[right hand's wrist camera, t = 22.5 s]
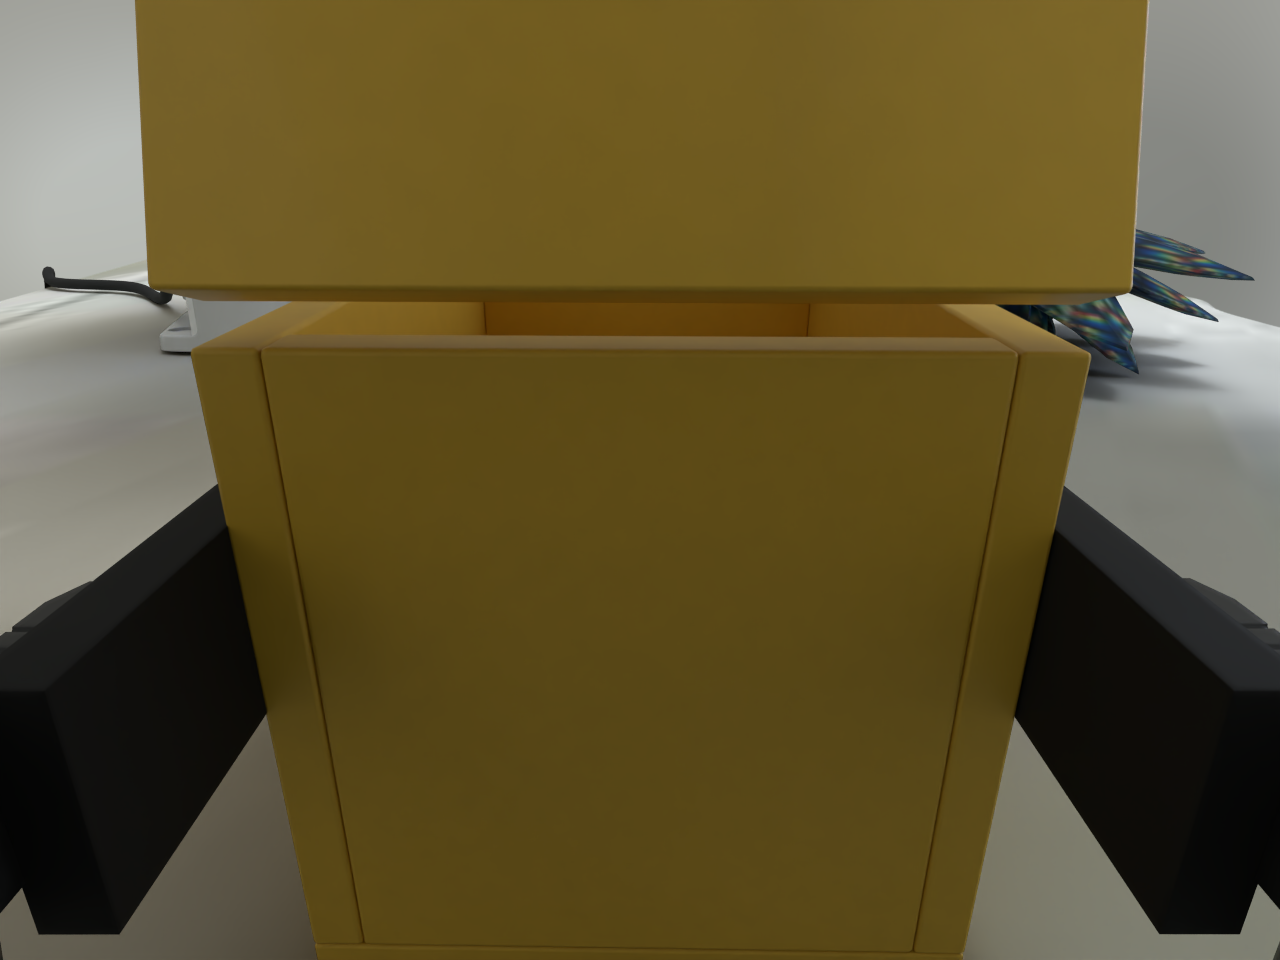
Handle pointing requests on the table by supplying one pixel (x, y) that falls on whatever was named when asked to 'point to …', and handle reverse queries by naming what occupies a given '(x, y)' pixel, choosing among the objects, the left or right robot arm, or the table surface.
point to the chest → (640, 615)
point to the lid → (642, 150)
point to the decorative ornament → (1107, 319)
